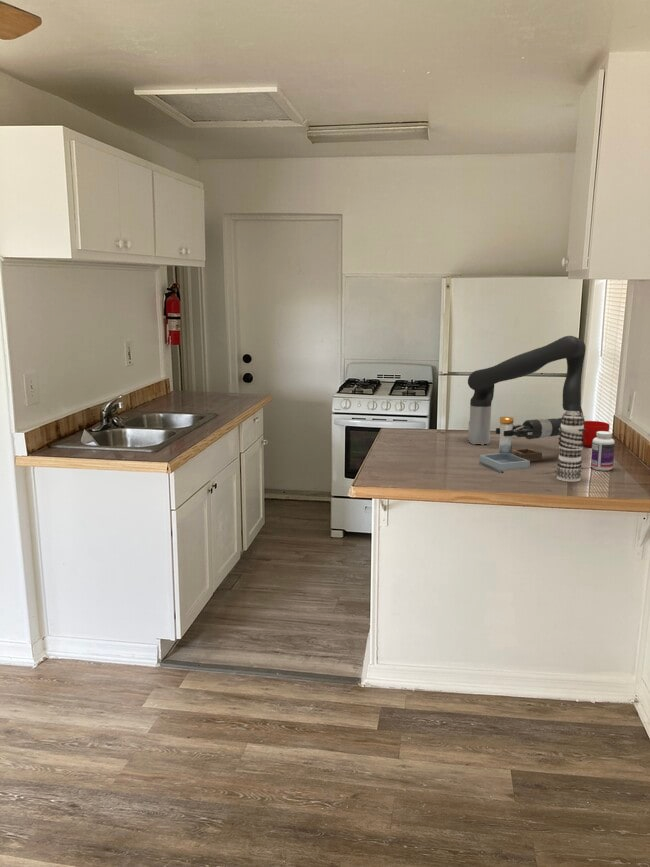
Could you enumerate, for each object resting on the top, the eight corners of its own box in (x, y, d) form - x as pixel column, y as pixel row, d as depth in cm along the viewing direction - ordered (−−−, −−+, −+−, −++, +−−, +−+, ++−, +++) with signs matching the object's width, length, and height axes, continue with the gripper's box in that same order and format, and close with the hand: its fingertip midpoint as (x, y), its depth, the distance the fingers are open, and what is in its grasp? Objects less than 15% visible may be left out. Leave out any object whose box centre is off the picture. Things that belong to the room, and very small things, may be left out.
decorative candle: (574, 474, 268) (578, 409, 263) (586, 481, 259) (591, 413, 254) (551, 475, 267) (555, 410, 262) (562, 482, 258) (567, 414, 253)
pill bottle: (614, 468, 278) (617, 431, 275) (609, 472, 271) (612, 435, 268) (593, 465, 282) (596, 429, 279) (588, 469, 276) (590, 433, 273)
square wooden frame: (509, 459, 292) (510, 449, 291) (528, 457, 295) (528, 448, 294) (522, 464, 284) (523, 454, 283) (541, 462, 287) (542, 452, 286)
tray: (479, 463, 285) (479, 455, 284) (507, 460, 289) (507, 452, 289) (500, 472, 271) (501, 464, 270) (529, 469, 276) (529, 461, 275)
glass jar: (495, 452, 281) (497, 417, 278) (507, 451, 282) (508, 416, 279) (503, 455, 276) (504, 419, 273) (514, 453, 277) (516, 418, 275)
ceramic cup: (566, 446, 314) (567, 424, 311) (586, 441, 324) (587, 419, 322) (594, 452, 304) (595, 429, 302) (613, 445, 315) (615, 423, 313)
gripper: (526, 416, 288) (490, 419, 282) (549, 422, 275) (511, 426, 269) (525, 434, 289) (489, 438, 284) (548, 441, 276) (510, 445, 271)
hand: (500, 432), depth 276 cm, fingers closed on glass jar, 4 cm apart
